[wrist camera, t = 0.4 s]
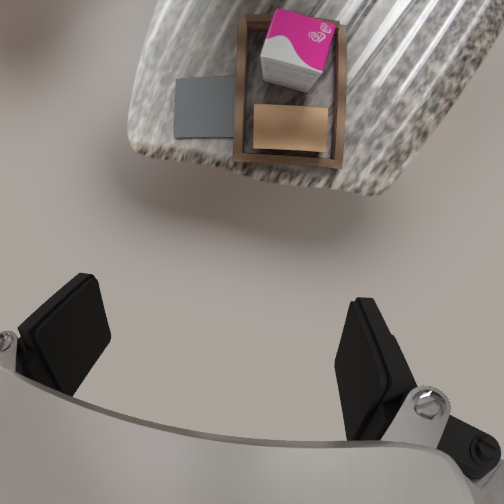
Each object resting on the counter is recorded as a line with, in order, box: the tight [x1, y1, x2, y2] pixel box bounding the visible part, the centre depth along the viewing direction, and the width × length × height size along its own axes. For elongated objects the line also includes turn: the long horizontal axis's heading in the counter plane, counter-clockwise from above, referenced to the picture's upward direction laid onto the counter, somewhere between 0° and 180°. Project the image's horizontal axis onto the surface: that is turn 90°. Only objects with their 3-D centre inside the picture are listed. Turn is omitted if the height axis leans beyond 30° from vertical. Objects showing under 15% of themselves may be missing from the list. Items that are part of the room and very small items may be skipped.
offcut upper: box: [253, 104, 328, 152], centre depth 30 cm, size 5×8×2 cm, turn 89°
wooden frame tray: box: [233, 15, 347, 169], centre depth 30 cm, size 19×13×3 cm
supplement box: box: [260, 8, 336, 93], centre depth 25 cm, size 6×6×12 cm
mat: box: [174, 76, 236, 138], centre depth 33 cm, size 8×8×1 cm
